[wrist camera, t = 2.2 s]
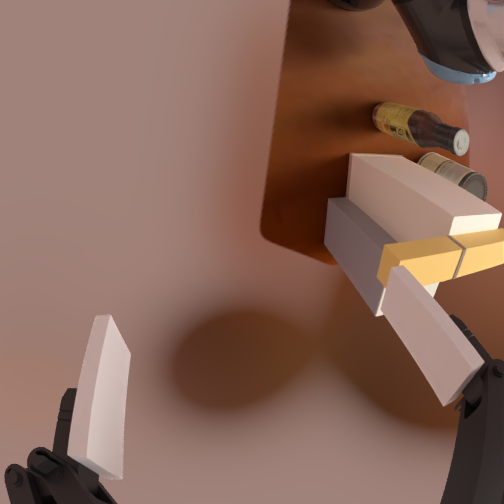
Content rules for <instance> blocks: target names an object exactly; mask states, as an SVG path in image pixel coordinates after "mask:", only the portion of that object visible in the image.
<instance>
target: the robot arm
mask: <svg viewBox="0 0 504 504" xmlns="http://www.w3.org/2000/svg"><path fill="white" fill-rule="evenodd" d="M328 1H329V2H331V3H332V4H334V5H336V6H338V7H340V8H343V9H346V10H350V11H365V10H369V9H372V8H375V7H377V6H379V5H380V4H381V3H383V1H384V0H328ZM391 1H392V2H393V4H394V6H395V8H396V9H397V11H398V13H399V14H400V16H401V18H402V19H403V21H404V23H405V25H406V27H407V28H408V30H409V32H410V34H411V36H412V38H413V40H414V42H415V44H416V47H417V50H418V52H419V53H420V55H421V56H422V58H423V60H424V62H425V64H426V66H427V67H428V69H429V70H430V71H431V73H433V74H434V75H435V76H437V77H438V78H440V79H442V80H445V81H448V82H453V83H459V84H473V83H474V82H477V83H484V82H488V81H490V80H492V79H493V78H494V77H495V75H496V72H502V71H503V70H504V1H489V0H391ZM380 310H381V311H382V312H383V314H384V315H385V317H386V318H387V320H388V321H389V322H390V324H391V325H392V326H393V328H394V330H395V331H396V333H397V334H398V336H399V337H400V338H401V340H402V342H403V343H404V345H405V346H406V347H407V349H408V351H409V352H410V354H411V355H412V357H413V358H414V360H415V361H416V363H417V364H418V366H419V368H420V369H421V371H422V372H423V374H424V375H425V377H426V378H427V380H428V382H429V383H430V385H431V387H432V388H433V390H434V392H435V393H436V395H437V397H438V398H439V400H440V402H441V403H442V405H443V406H445V405H447V404H448V403H450V402H452V401H454V400H455V399H456V398H457V397H458V396H459V395H460V393H461V392H462V393H463V395H464V396H463V398H462V399H461V400H460V401H459V402H458V403H457V405H456V406H455V409H454V410H457V409H458V407H459V406H460V405H461V408H460V409H459V411H460V417H459V425H458V431H457V437H456V443H455V448H454V453H453V458H452V462H451V467H450V471H449V475H448V479H447V482H446V486H445V490H444V493H443V496H442V500H441V503H440V504H504V361H502V360H500V359H494V360H493V359H492V358H491V357H490V356H489V354H488V353H487V352H486V350H485V349H484V348H483V347H482V345H481V344H480V343H479V342H478V340H477V339H476V338H475V337H474V336H473V334H472V333H471V332H470V330H468V328H467V327H466V326H465V324H464V323H463V322H462V321H461V320H460V319H459V318H457V317H455V316H454V315H450V316H448V315H447V314H446V312H445V311H444V310H443V309H442V308H441V307H440V305H439V304H438V303H437V302H436V301H435V300H434V298H433V297H432V296H431V295H430V294H429V293H428V292H427V290H426V289H425V288H424V287H423V286H422V285H421V284H420V283H419V282H418V280H417V279H416V278H415V277H414V276H413V275H412V274H411V273H410V272H409V271H408V270H407V269H406V268H405V267H404V265H401V266H397V267H392V268H391V270H390V274H389V279H388V282H387V286H386V290H385V294H384V298H383V301H382V305H381V308H380ZM130 356H131V354H130V352H129V350H128V348H127V346H126V344H125V342H124V340H123V339H122V337H121V335H120V333H119V331H118V329H117V327H116V325H115V323H114V321H113V319H112V316H111V315H101V316H96V317H95V320H94V324H93V327H92V331H91V335H90V338H89V342H88V345H87V349H86V353H85V357H84V361H83V366H82V370H81V375H80V379H79V384H78V388H77V389H76V388H68V389H67V391H66V392H65V394H64V396H63V397H62V400H61V404H60V412H59V414H58V421H57V426H56V431H55V437H54V444H53V451H52V452H51V451H50V450H48V449H46V448H44V447H38V448H35V449H33V451H31V453H30V454H29V456H28V459H27V466H28V468H26V469H25V468H23V467H22V466H20V465H18V464H11V465H10V466H8V468H7V469H6V471H5V484H6V487H7V491H8V495H9V499H10V502H11V504H117V503H116V501H115V500H114V499H113V498H112V496H111V495H110V494H109V493H108V492H107V490H106V489H105V488H104V486H103V485H102V484H101V483H100V482H99V479H98V478H99V475H100V476H102V477H103V478H105V479H114V480H123V441H124V420H125V406H126V393H127V383H128V373H129V364H130Z"/></svg>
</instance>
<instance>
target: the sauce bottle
mask: <svg viewBox="0 0 504 504" xmlns="http://www.w3.org/2000/svg"><path fill="white" fill-rule="evenodd" d="M372 119H373V123H374V125H375V126H376V127H377V129H379V130H380V131H382V132H383V133H385V134H388V135H391V136H394V137H396V138H399V139H402V140H404V141H406V142H409V143H412V144H414V145H417V146H419V147H422V148H433V147H440V148H444V149H446V150H449V151H450V152H451V153H453V154H455V155H458V156H461V155H463V154H465V153H466V151H467V149H468V147H469V136H468V133H467V132H466V131H465V130H464V129H461V128H458V127H452V126H449V125H447V124H445V123H443V122H442V121H441V119H440V118H439V117H438V116H437V115H436V114H433V113H431V112H426V111H424V110H421V109H418V108H414V107H409V106H405V105H401V104H396V103H391V102H383V103H379V104H378V105H377V106H376V107H375V108H374V111H373V114H372Z"/></svg>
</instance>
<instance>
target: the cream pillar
mask: <svg viewBox="0 0 504 504" xmlns="http://www.w3.org/2000/svg"><path fill="white" fill-rule="evenodd" d="M346 198H347V199H349V200H350V201H352V202H353V203H354V204H355V205H356V206H358V207H359V208H360V209H361V210H362V211H363V212H365V213H366V214H367V215H368V216H369V217H370V218H371V219H373V220H374V221H375V222H376V223H377V224H378V225H379V226H380V227H382V228H383V229H384V230H385V231H386V232H387V233H388V234H389V235H390V236H391V237H392V238H394V239H395V240H396V241H397V242H398V243H400V242H408V241H415V240H423V239H430V238H437V237H445V236H449V235H451V236H452V235H459V234H466V233H473V232H480V231H487V230H494V229H497V228H498V225H499V222H500V219H501V216H502V213H501V212H499V211H498V210H496V209H495V208H493V207H492V206H490V205H489V204H487V203H486V202H484V201H483V200H481V199H479V198H478V197H476V196H475V195H473V194H471V193H470V192H468V191H466V190H464V189H463V188H461V187H459V186H458V185H456V184H454V183H452V182H451V181H449V180H447V179H445V178H443V177H441V176H440V175H438V174H436V173H434V172H432V171H430V170H428V169H426V168H424V167H422V166H420V165H418V164H416V163H414V162H412V161H410V160H408V159H406V158H404V157H403V156H402V155H393V154H371V153H350V155H349V167H348V178H347V188H346Z"/></svg>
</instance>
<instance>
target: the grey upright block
mask: <svg viewBox="0 0 504 504" xmlns="http://www.w3.org/2000/svg"><path fill="white" fill-rule="evenodd" d="M393 243H398V242H397V241H396V240H395V239H394V238H392V237H391V236H390V235H389V234H388V233H387V232H386V231H385V230H384V229H383V228H382V227H380V226H379V225H378V224H377V223H376V222H375V221H374V220H373V219H371V218H370V217H369V216H368V215H367V214H366V213H365V212H363V211H362V210H361V209H360V208H359V207H358V206H356V205H355V204H354V203H353V202H352V201H350V200H349V199H347V198H346V197H339V198H328V208H327V218H326V228H325V237H324V245H325V246H326V247H327V249H328V250H329V251H330V253H331V254H332V255H333V257H334V258H335V260H336V261H337V262H338V264H339V265H340V266H341V268H342V269H343V270H344V272H345V273H346V275H347V276H348V277H349V279H350V280H351V282H352V283H353V284H354V286H355V287H356V289H357V290H358V292H359V293H360V294H361V296H362V297H363V299H364V300H365V301H366V303H367V304H368V306H369V307H370V309H371V310H372V312H373V313H374V315H375V316H379V315H384V314H383V312H382V311H381V310H380V308H381V305H382V301H383V298H384V294H385V290H386V288H385V287H384V286H383V284H382V283H381V282H380V281H379V279H378V278H377V273H378V269H379V265H380V261H381V257H382V253H383V248H384V245H385V244H393ZM438 284H439V282H438V283H434V284H430V285H426V286H423V287H424V288H425V289H426V290H427V292H428V293H429V294H430V295H431V296H432V297H433V296H434V294H435V291H436V289H437V286H438Z"/></svg>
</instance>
